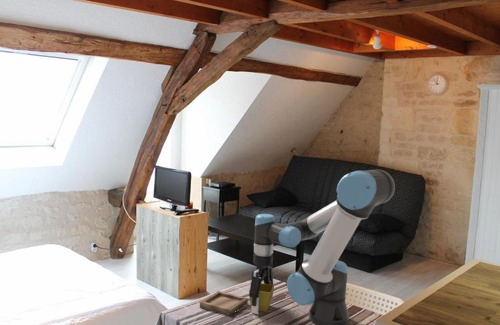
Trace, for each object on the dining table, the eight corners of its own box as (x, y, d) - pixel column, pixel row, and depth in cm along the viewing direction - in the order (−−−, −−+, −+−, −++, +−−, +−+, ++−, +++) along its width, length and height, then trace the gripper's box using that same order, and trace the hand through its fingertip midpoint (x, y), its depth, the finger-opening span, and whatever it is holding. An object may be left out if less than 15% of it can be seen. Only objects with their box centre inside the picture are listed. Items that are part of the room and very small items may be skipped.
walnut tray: (247, 303, 190) (247, 298, 190) (230, 315, 178) (230, 310, 178) (218, 296, 197) (218, 291, 197) (199, 307, 184) (199, 302, 184)
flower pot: (269, 315, 180) (271, 292, 179) (247, 312, 182) (248, 289, 181) (273, 306, 189) (274, 284, 188) (252, 303, 191) (253, 282, 190)
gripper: (267, 245, 195) (264, 297, 197) (241, 259, 175) (238, 316, 177) (283, 248, 191) (280, 301, 193) (259, 262, 172) (256, 321, 174)
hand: (260, 308), depth 185 cm, fingers open, 9 cm apart
